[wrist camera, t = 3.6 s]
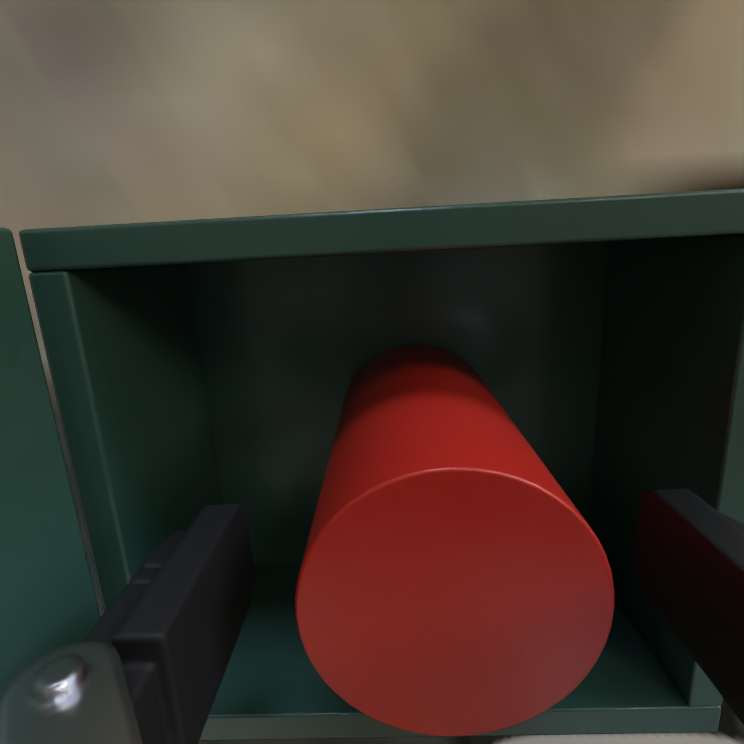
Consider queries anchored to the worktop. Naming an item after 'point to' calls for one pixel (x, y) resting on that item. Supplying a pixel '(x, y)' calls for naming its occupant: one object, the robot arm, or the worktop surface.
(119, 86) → the worktop surface
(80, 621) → the lid
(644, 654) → the box
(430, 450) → the tin
